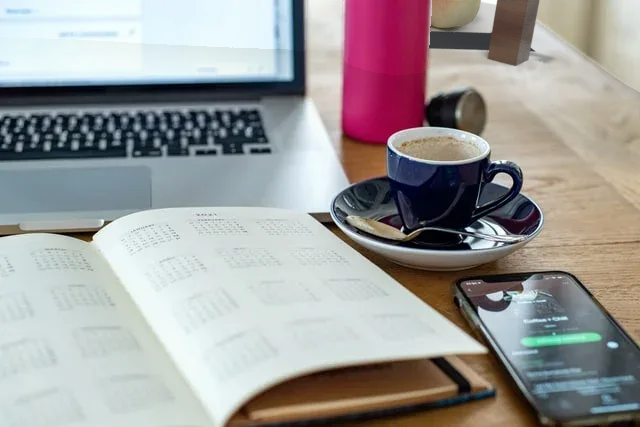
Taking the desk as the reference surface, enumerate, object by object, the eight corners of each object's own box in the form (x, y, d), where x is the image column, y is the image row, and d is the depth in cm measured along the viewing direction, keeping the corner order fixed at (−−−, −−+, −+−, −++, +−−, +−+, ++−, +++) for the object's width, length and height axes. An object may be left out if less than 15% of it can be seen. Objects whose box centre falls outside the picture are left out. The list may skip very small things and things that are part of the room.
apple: (408, 26, 132) (414, -28, 129) (434, 16, 139) (441, -36, 136) (460, 38, 128) (469, -17, 125) (485, 27, 135) (494, -25, 132)
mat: (512, 38, 131) (513, 33, 130) (535, 56, 123) (536, 51, 122) (408, 35, 128) (408, 30, 127) (424, 53, 120) (425, 48, 120)
